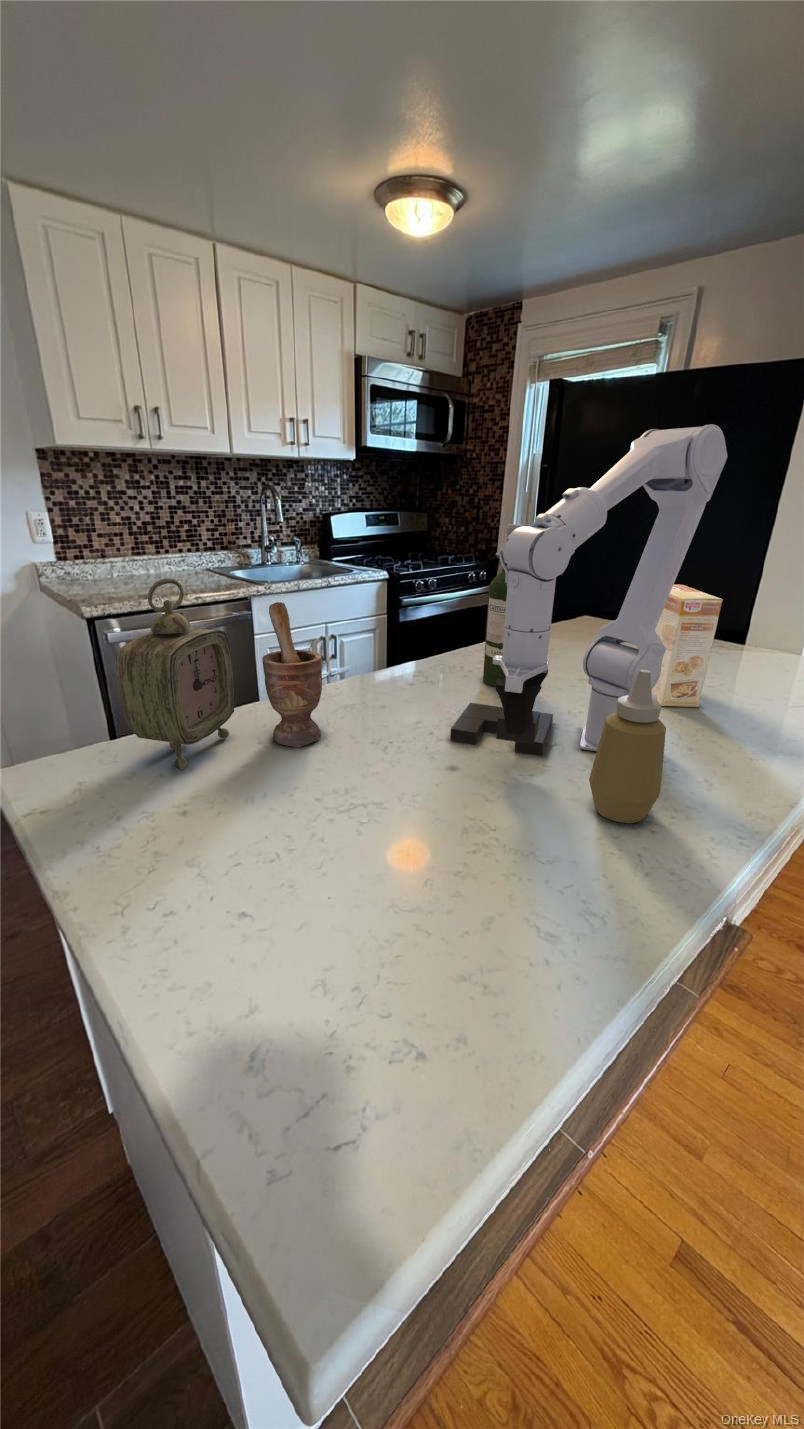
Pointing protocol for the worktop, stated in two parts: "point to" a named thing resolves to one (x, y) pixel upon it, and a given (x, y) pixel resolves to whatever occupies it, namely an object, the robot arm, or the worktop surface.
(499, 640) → the wine bottle
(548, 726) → the base pad
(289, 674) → the mortar and pestle
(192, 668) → the tabletop clock
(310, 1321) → the worktop surface
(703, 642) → the coffeecake box
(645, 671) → the squeeze bottle
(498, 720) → the small dark rectangular block
